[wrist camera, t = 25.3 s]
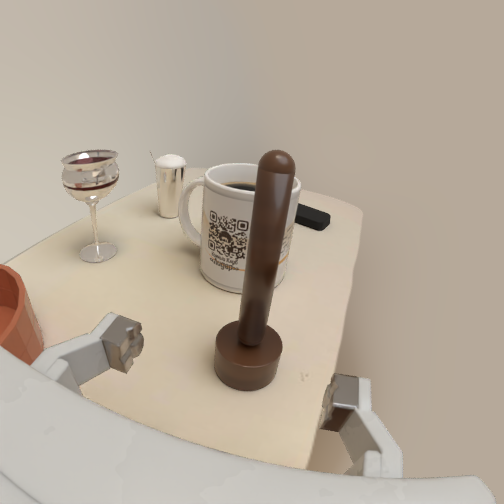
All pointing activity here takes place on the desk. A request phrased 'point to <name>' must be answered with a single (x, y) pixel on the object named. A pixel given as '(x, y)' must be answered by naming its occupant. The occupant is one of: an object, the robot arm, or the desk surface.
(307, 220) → the remote control
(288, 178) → the brown plunger
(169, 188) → the milkshake
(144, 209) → the desk surface
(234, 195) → the mug
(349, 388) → the robot arm
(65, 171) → the wineglass
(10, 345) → the bowl
